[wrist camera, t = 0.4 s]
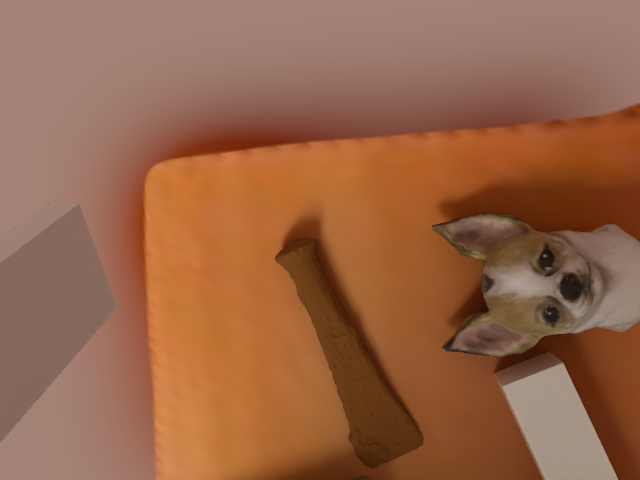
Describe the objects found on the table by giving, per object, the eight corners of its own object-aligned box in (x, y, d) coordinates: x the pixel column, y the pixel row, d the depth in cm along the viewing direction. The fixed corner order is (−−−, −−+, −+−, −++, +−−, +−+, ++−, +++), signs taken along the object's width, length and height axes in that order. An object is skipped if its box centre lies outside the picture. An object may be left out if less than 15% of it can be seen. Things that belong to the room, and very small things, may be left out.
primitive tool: (426, 441, 43) (427, 460, 39) (366, 469, 44) (362, 489, 40) (315, 230, 44) (307, 230, 41) (258, 261, 45) (246, 264, 41)
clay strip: (639, 545, 40) (665, 579, 36) (581, 564, 41) (600, 599, 37) (548, 350, 41) (563, 362, 37) (492, 372, 42) (502, 386, 38)
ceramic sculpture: (706, 371, 31) (444, 378, 34) (648, 342, 40) (442, 350, 43) (689, 190, 31) (430, 214, 35) (635, 200, 40) (431, 218, 43)
